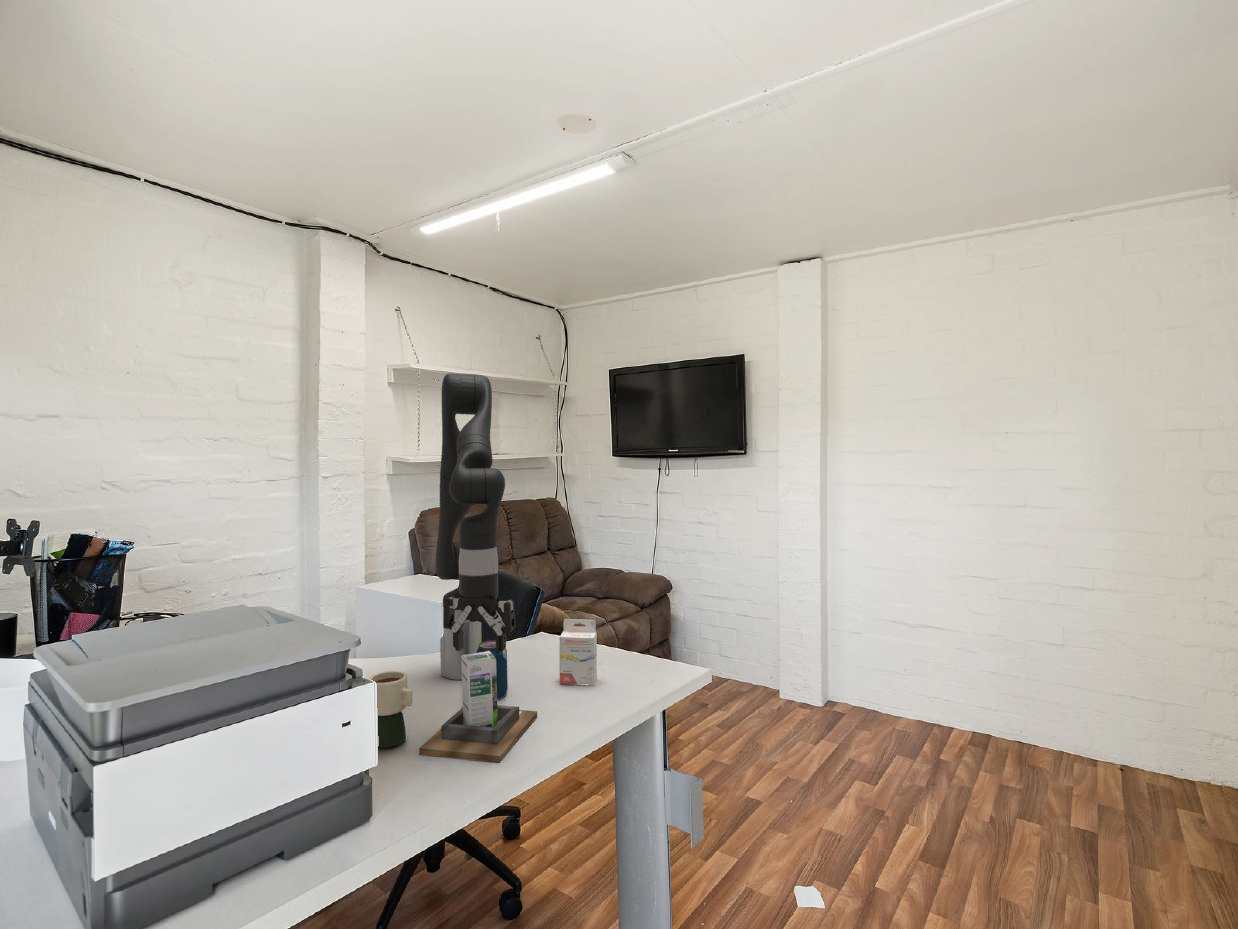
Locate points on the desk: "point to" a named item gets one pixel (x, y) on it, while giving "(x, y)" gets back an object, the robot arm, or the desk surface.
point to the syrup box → (479, 689)
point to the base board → (479, 736)
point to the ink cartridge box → (578, 652)
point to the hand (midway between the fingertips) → (479, 651)
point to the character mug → (391, 706)
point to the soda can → (497, 665)
